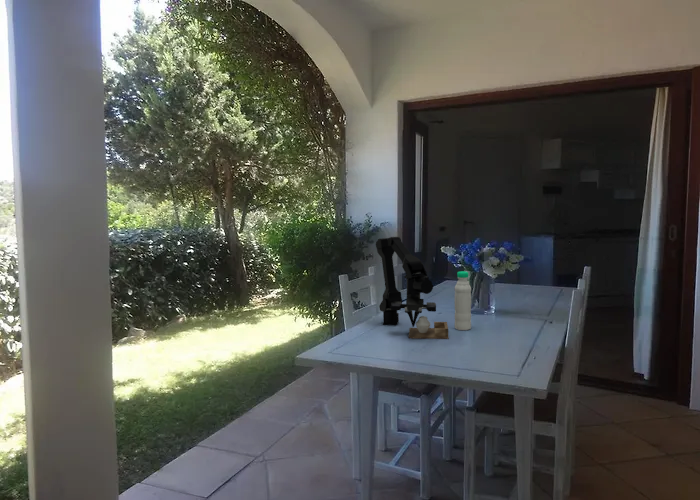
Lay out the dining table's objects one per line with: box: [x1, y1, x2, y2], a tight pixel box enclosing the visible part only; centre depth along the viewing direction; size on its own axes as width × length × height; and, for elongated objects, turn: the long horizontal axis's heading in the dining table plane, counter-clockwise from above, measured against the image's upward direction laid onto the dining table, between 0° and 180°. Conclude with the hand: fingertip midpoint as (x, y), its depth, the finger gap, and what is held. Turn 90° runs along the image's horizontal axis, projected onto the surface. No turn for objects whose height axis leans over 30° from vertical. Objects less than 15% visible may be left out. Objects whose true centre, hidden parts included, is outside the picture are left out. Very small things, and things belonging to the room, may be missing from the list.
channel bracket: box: [408, 321, 449, 340], centre depth 206 cm, size 16×14×4 cm
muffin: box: [415, 315, 432, 333], centre depth 206 cm, size 6×6×7 cm
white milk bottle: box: [454, 270, 472, 331], centre depth 212 cm, size 7×7×25 cm
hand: (413, 326), depth 206 cm, fingers closed
